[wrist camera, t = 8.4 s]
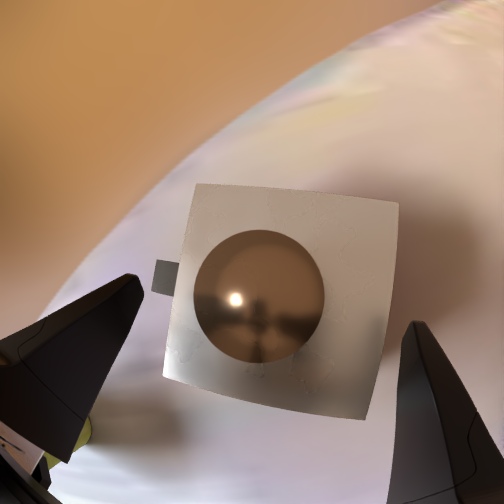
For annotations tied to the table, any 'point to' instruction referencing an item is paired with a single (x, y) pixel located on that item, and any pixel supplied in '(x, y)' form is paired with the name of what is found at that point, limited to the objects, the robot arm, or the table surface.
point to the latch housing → (335, 304)
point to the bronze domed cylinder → (258, 296)
